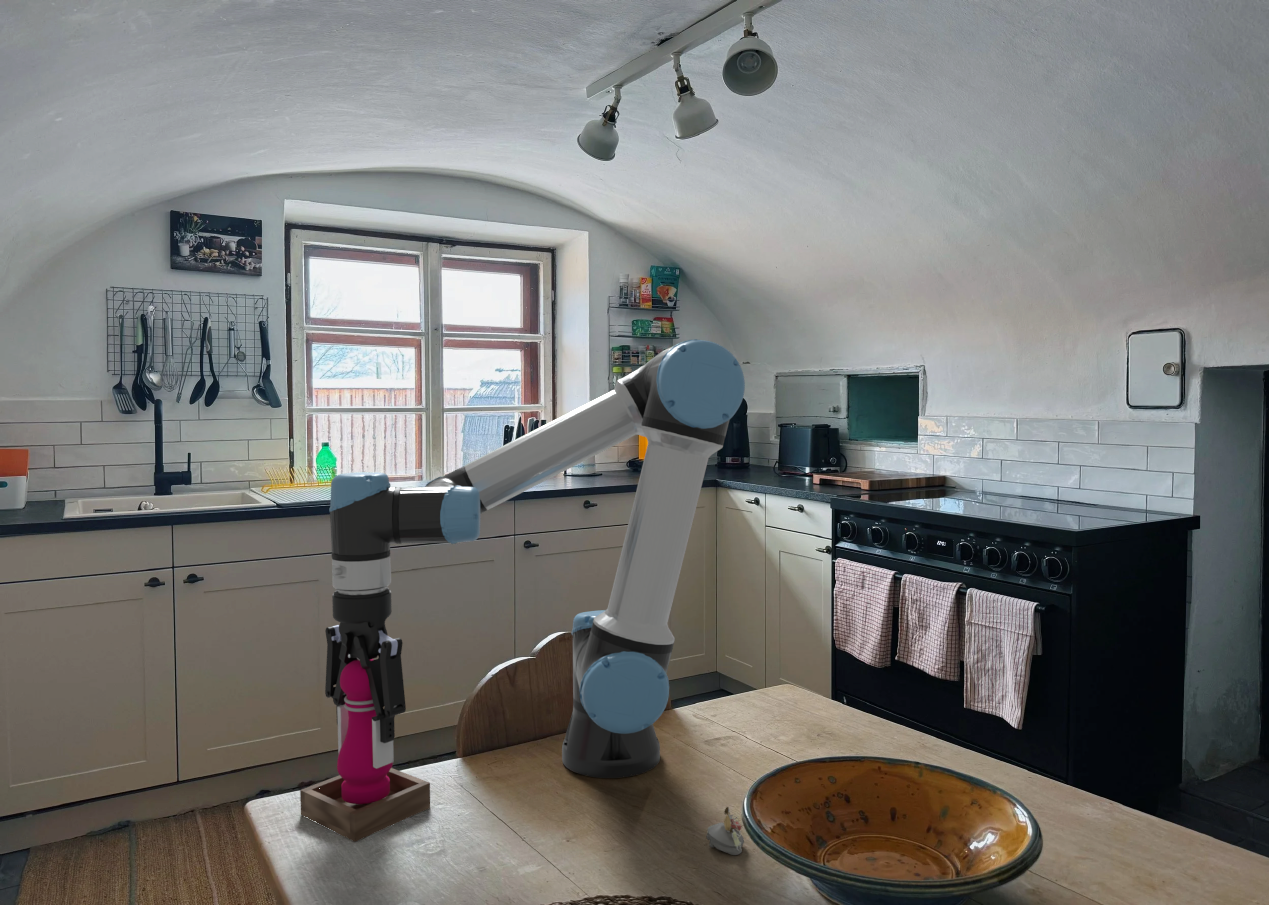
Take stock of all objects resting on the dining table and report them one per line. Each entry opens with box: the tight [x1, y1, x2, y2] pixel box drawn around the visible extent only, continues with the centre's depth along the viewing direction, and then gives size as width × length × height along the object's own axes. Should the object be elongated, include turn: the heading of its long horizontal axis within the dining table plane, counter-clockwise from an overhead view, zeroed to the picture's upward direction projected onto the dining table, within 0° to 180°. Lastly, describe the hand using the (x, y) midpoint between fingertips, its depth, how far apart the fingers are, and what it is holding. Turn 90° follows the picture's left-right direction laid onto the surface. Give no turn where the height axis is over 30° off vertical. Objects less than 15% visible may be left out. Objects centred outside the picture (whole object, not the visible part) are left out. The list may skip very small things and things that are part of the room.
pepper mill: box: [336, 658, 394, 804], centre depth 121 cm, size 7×7×20 cm
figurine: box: [705, 806, 745, 856], centre depth 111 cm, size 5×4×6 cm
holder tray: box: [299, 767, 431, 843], centre depth 122 cm, size 12×12×4 cm
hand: (365, 757), depth 121 cm, fingers closed on pepper mill, 7 cm apart
